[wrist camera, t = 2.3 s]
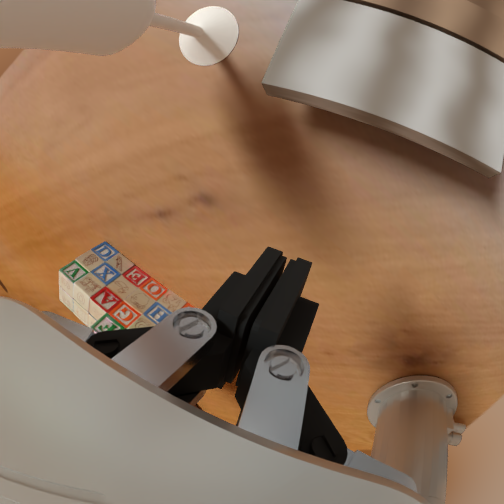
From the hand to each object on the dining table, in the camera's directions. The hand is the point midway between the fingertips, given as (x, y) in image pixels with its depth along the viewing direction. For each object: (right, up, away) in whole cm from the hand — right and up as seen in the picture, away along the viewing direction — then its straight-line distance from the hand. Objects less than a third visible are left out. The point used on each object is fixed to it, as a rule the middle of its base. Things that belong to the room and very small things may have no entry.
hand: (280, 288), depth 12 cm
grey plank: (+10, +15, +8) cm, 19 cm away
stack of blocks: (-14, -5, +32) cm, 35 cm away
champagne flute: (-5, +22, +14) cm, 27 cm away
